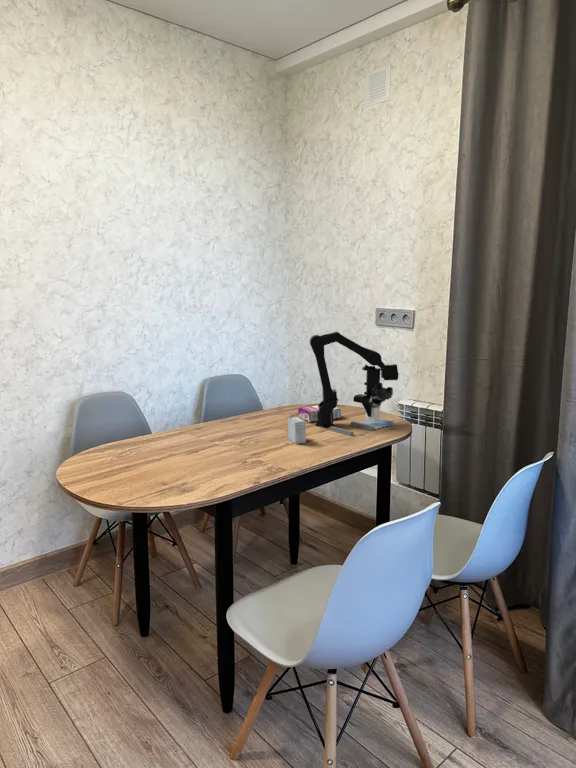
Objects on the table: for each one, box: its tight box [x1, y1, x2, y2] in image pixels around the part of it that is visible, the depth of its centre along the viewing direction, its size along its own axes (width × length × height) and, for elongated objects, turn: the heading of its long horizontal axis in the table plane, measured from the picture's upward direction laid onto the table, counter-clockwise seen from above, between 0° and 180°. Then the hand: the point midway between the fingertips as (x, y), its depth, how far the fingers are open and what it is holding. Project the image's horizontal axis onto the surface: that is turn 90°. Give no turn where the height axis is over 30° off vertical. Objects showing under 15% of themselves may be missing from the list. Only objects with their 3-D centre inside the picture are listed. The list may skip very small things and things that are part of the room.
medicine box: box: [287, 416, 307, 445], centre depth 206 cm, size 8×4×9 cm, turn 22°
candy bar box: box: [297, 405, 342, 423], centre depth 243 cm, size 11×5×16 cm
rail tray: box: [329, 418, 395, 437], centre depth 226 cm, size 27×12×2 cm, turn 130°
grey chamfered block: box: [364, 403, 381, 422], centre depth 229 cm, size 4×5×7 cm
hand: (372, 416), depth 230 cm, fingers closed on grey chamfered block, 3 cm apart
